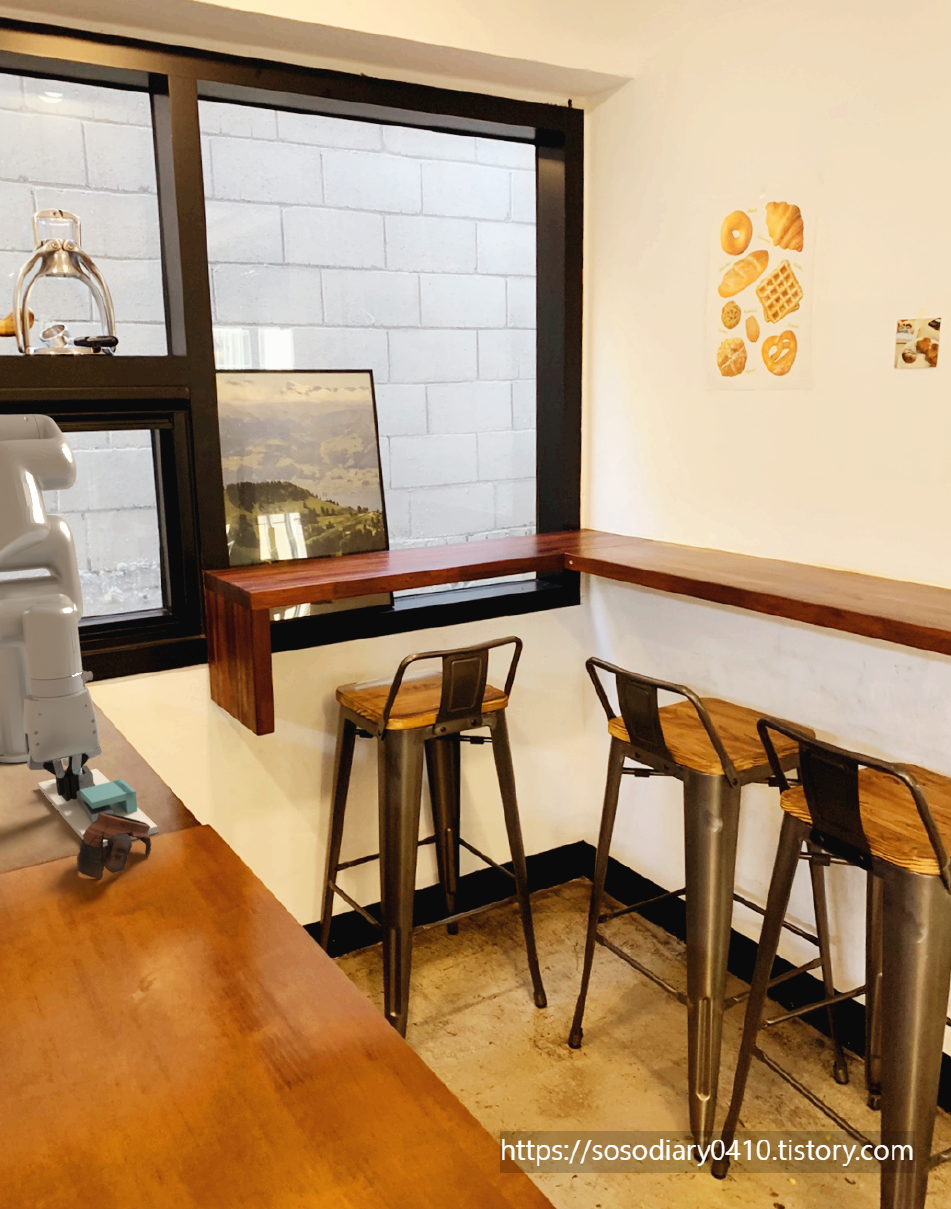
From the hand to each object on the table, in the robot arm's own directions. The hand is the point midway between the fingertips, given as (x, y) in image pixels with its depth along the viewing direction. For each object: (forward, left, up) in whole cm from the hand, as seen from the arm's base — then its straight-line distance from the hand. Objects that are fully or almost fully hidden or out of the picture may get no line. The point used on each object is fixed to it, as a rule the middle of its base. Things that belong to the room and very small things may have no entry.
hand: (69, 797), depth 148 cm
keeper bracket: (+6, +4, -1) cm, 7 cm away
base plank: (+2, +3, -2) cm, 4 cm away
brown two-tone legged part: (+22, 0, -3) cm, 22 cm away
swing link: (0, +3, -1) cm, 3 cm away
